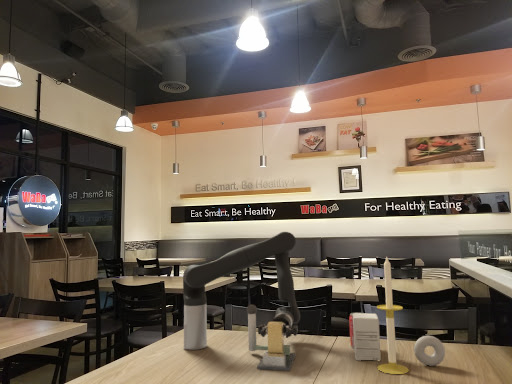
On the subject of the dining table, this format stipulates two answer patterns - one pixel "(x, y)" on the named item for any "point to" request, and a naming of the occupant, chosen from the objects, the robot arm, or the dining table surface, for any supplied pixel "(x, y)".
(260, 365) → the base
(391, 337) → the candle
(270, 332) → the brass block
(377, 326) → the supplement box
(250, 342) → the sliding jaw
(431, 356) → the donut
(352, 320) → the soda can
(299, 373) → the dining table surface
